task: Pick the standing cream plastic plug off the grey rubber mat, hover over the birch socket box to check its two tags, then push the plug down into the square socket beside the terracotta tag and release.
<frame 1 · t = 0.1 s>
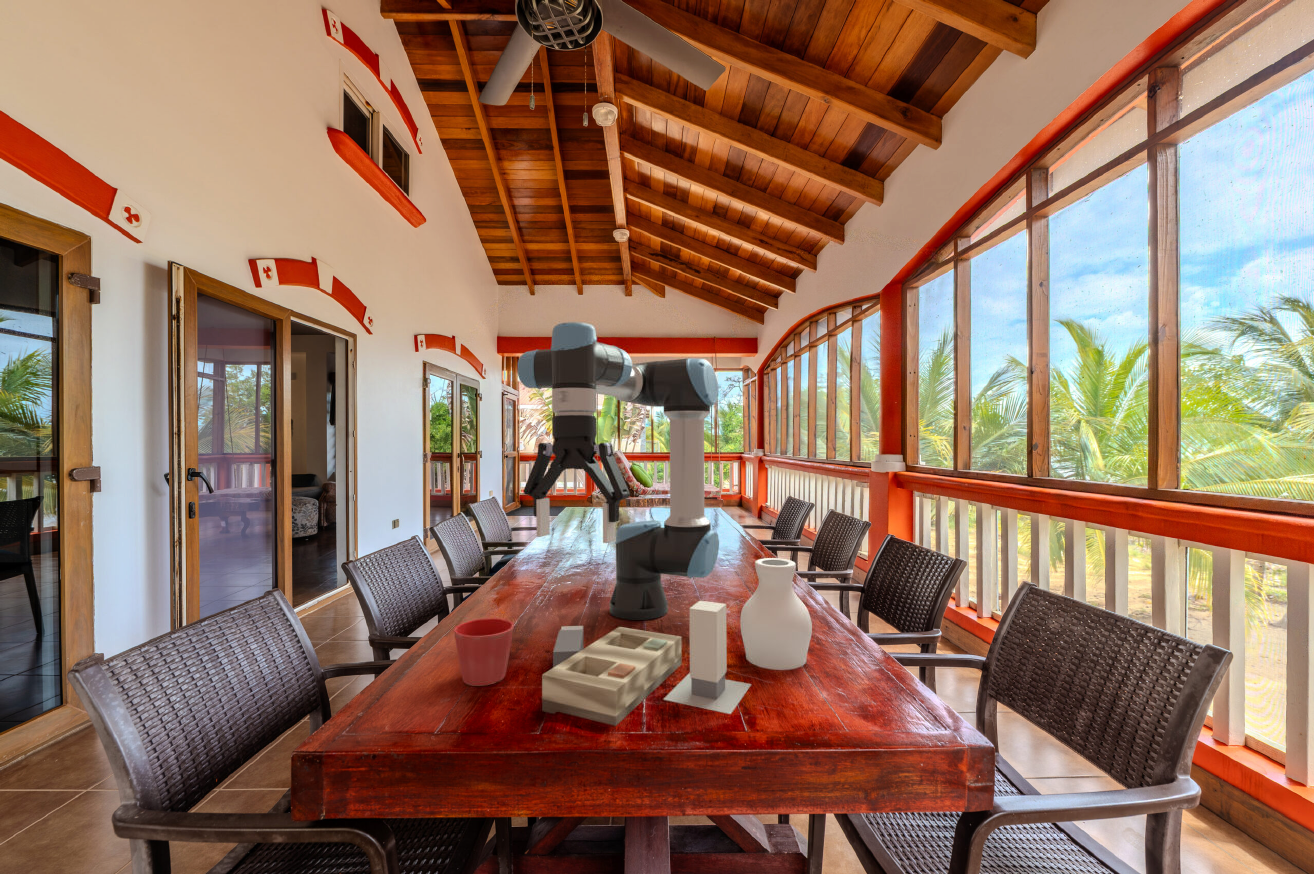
hand: (575, 538, 96), 28 cm above the table, fingers open, 13 cm apart
socket box: (617, 687, 102), on the table
mat: (708, 694, 99), on the table
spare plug: (569, 665, 112), on the table
plug: (708, 691, 99), point 1 cm above the table, touching mat
vase: (775, 661, 114), on the table
flower pot: (484, 678, 106), on the table
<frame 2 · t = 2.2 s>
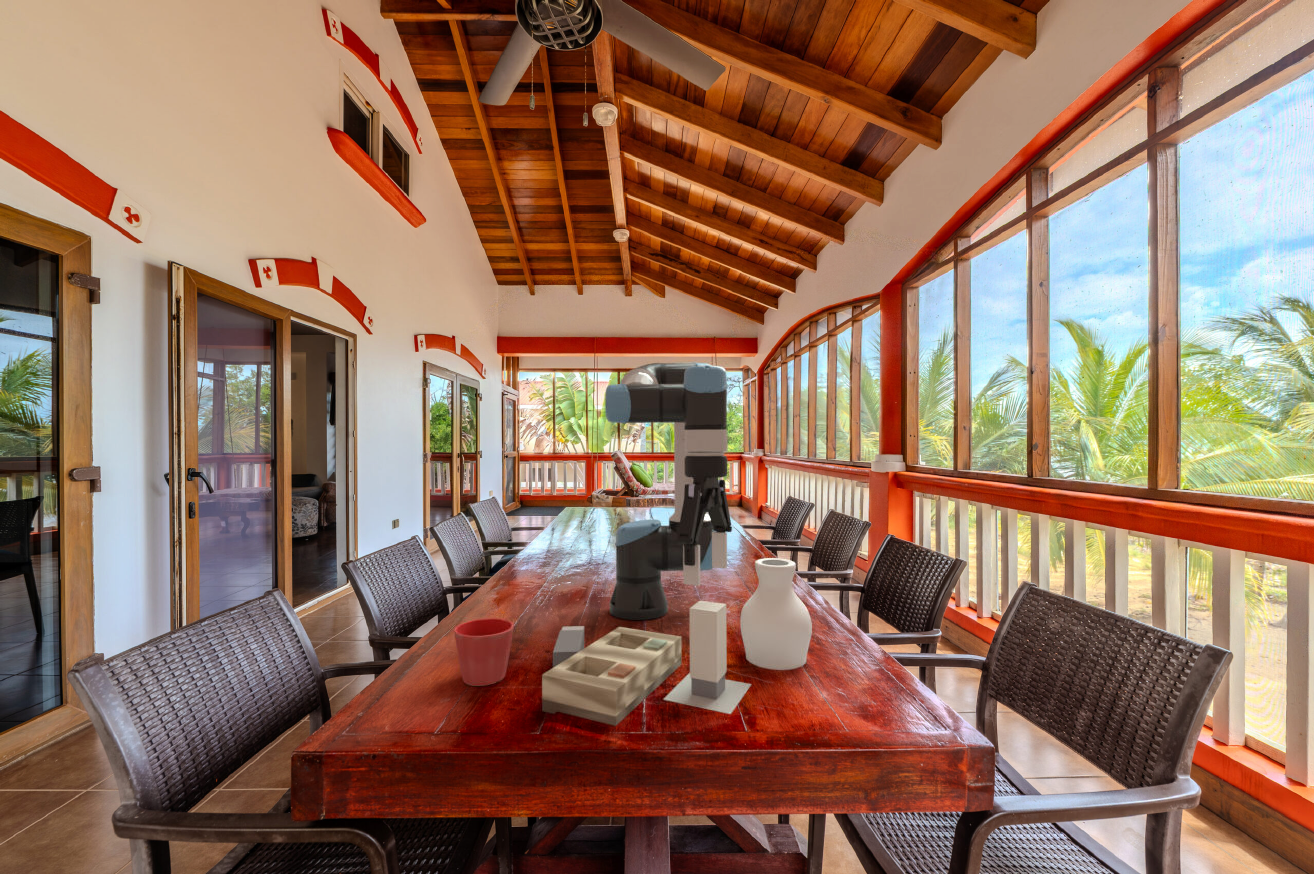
hand: (706, 575, 99), 21 cm above the table, fingers open, 13 cm apart
nothing on the table moved.
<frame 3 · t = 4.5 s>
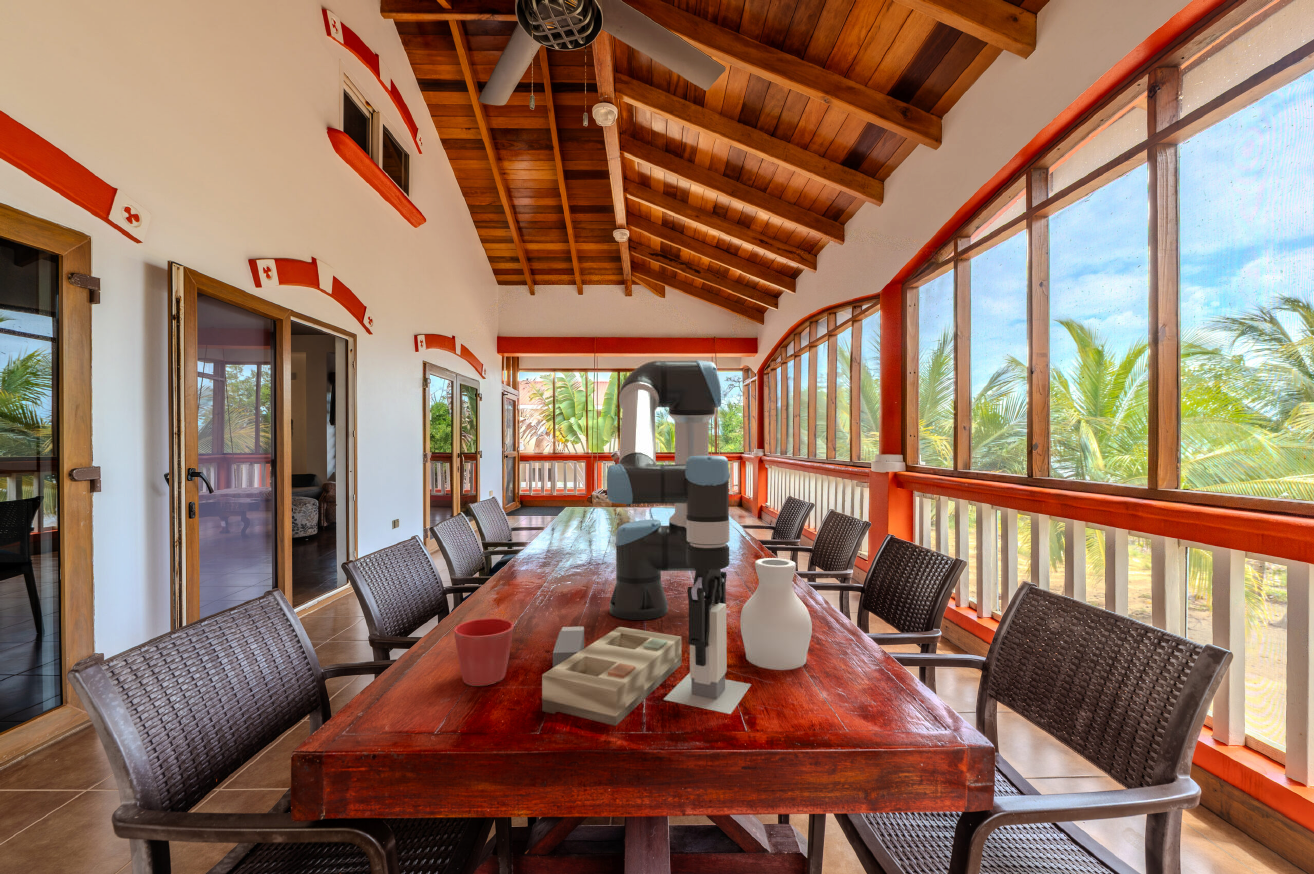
hand: (708, 675, 99), 3 cm above the table, fingers closed on plug, 5 cm apart
plug: (708, 691, 99), point 1 cm above the table, touching gripper, mat
everything else where it was.
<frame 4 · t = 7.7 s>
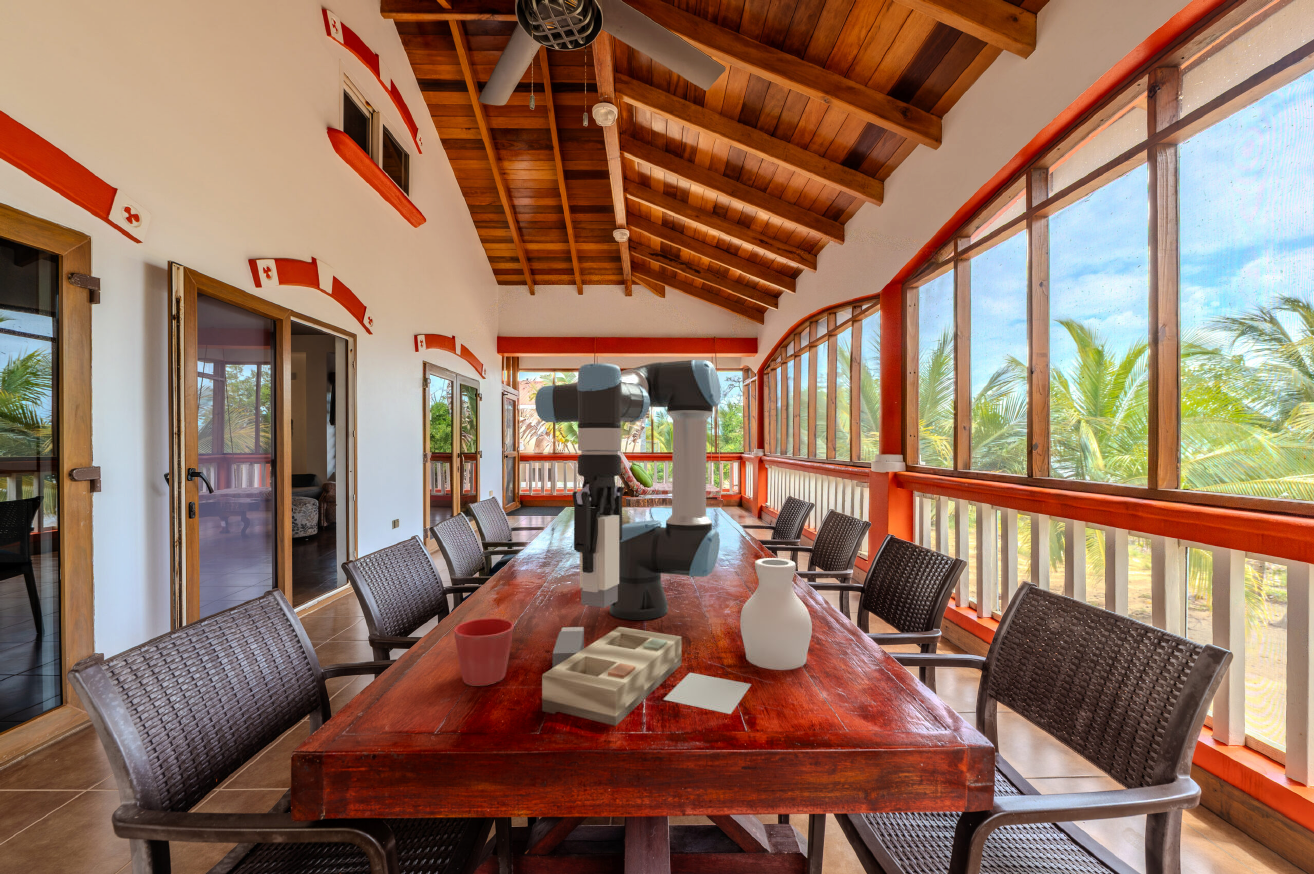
hand: (599, 586, 98), 19 cm above the table, fingers closed on plug, 5 cm apart
plug: (599, 602, 98), point 17 cm above the table, touching gripper
everything else where it was.
when the fingers open (7 cm above the table, at t = 10.8 s): plug drops 2 cm, resting on socket box.
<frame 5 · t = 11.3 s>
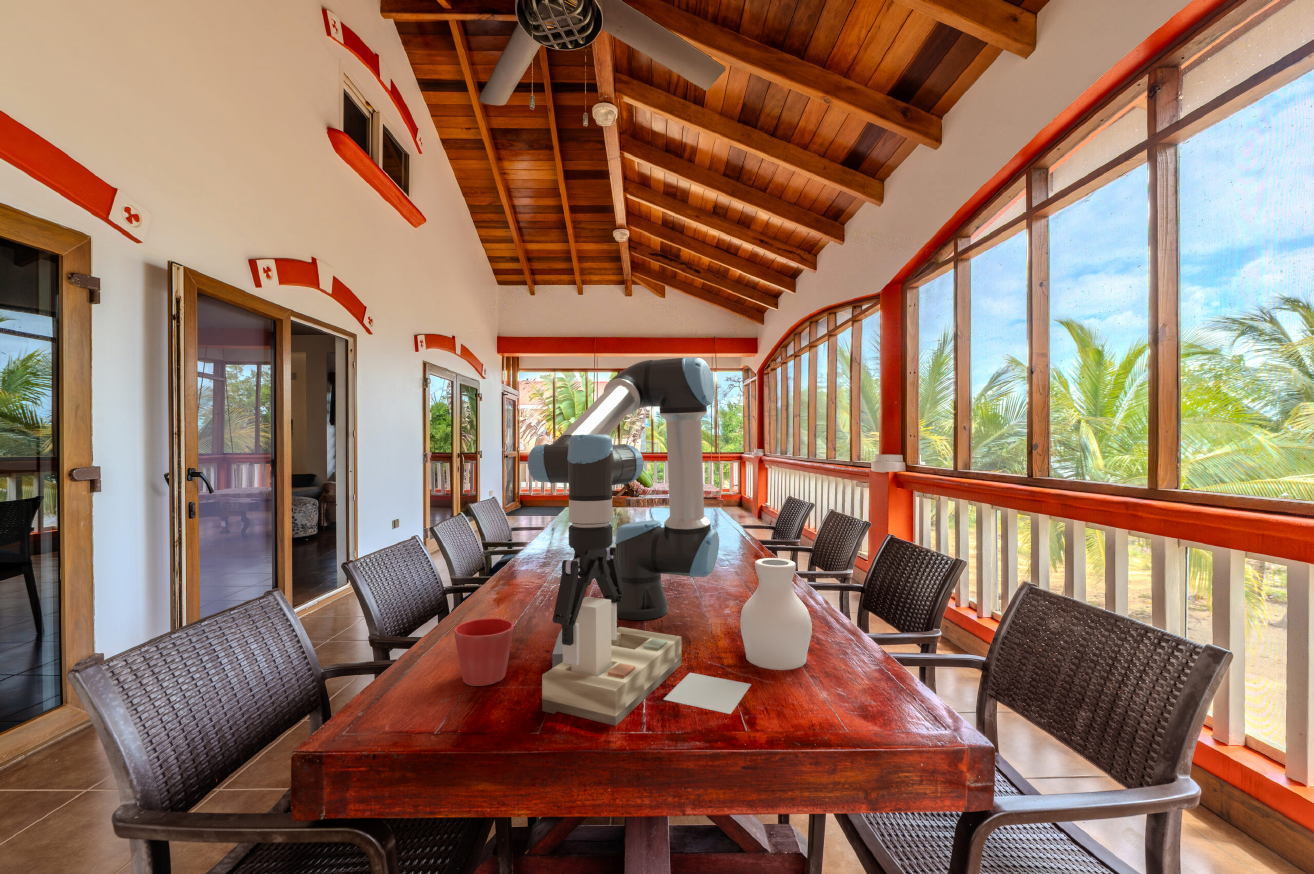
hand: (591, 650, 97), 9 cm above the table, fingers open, 11 cm apart
plug: (591, 689, 97), point 2 cm above the table, touching socket box
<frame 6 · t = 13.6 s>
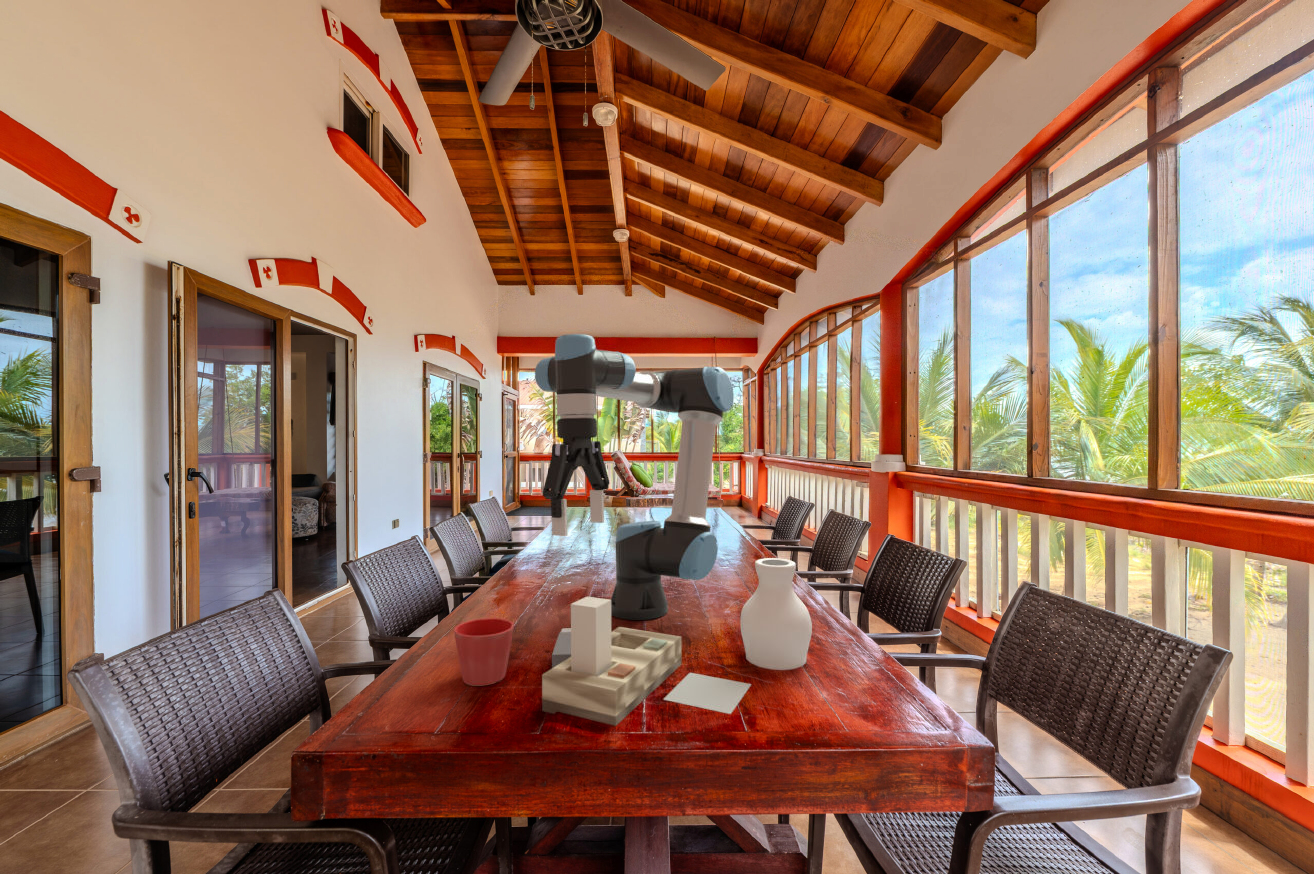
hand: (579, 528, 107), 28 cm above the table, fingers open, 13 cm apart
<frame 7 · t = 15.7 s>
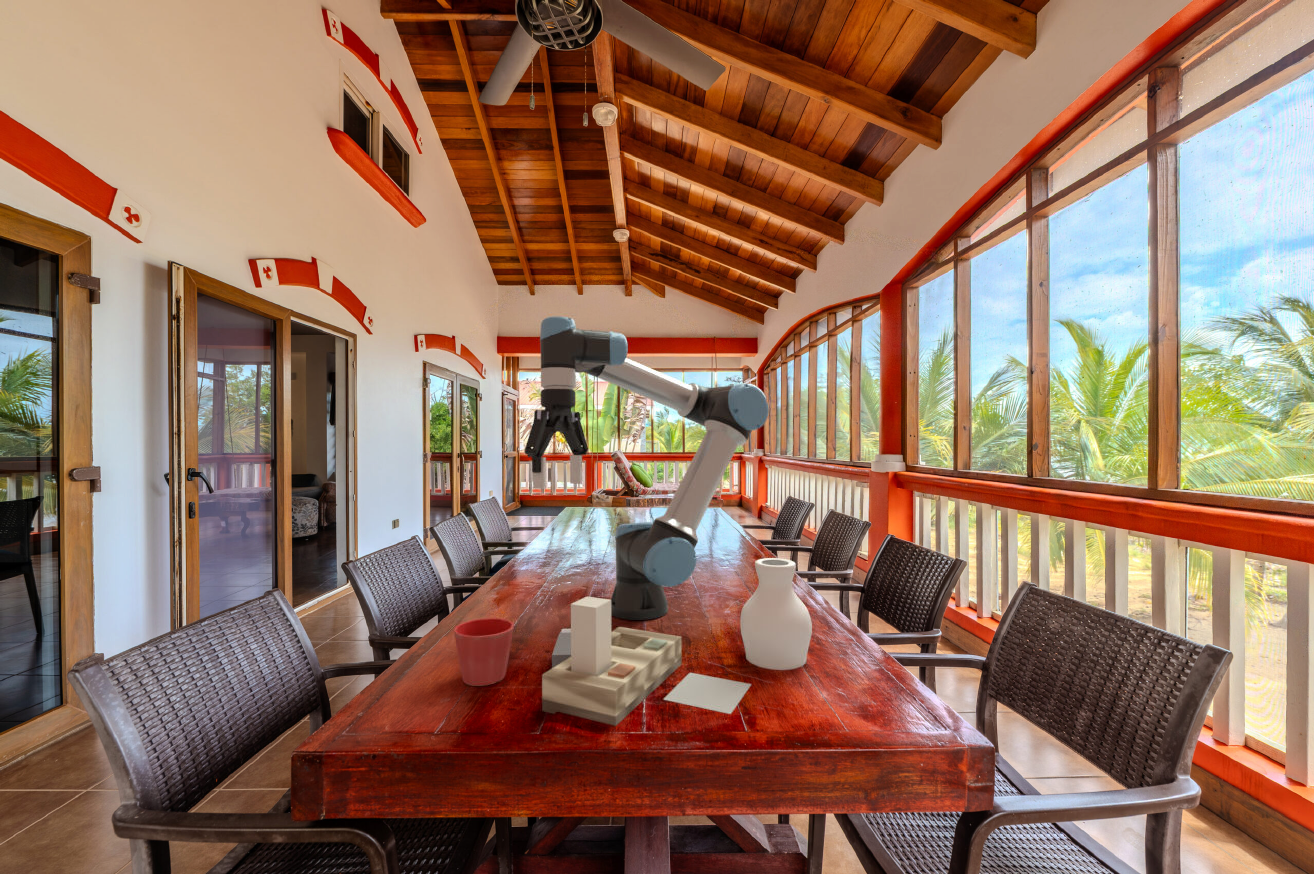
hand: (558, 486, 123), 35 cm above the table, fingers open, 13 cm apart
at the end: plug 0.0 cm from the target spot on the socket box, point 2.0 cm above the socket box's base; plug tilted 0°; the gripper is holding nothing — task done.
